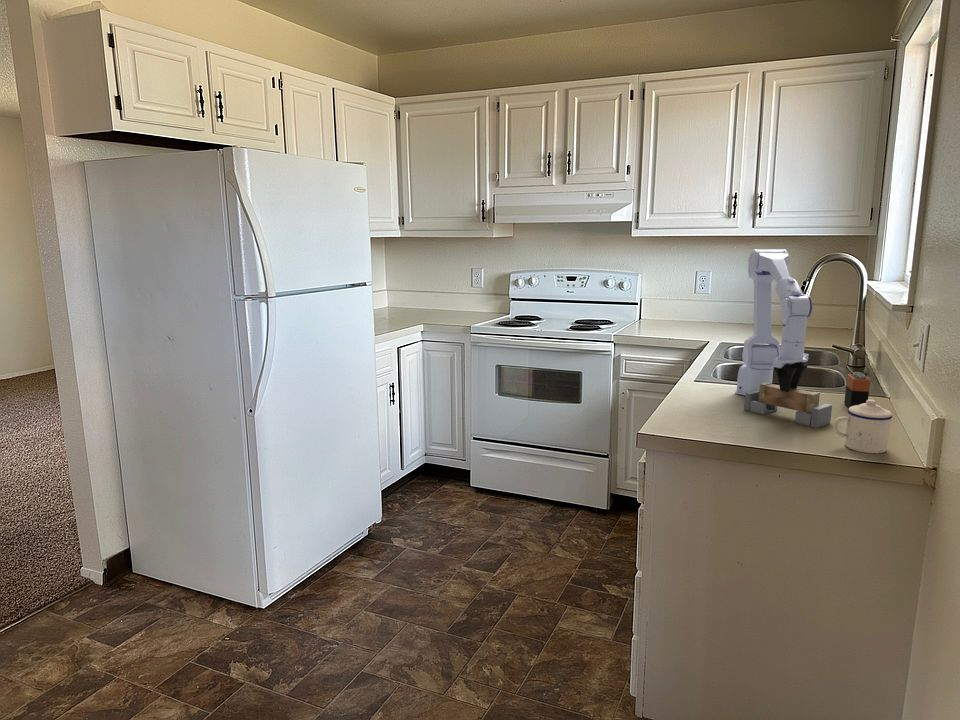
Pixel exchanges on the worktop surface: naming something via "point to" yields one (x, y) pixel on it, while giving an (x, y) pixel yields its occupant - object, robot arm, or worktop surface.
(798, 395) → the rail
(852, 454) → the worktop surface
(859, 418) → the teacup with lid
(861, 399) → the battery
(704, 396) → the worktop surface
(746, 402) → the post slots
